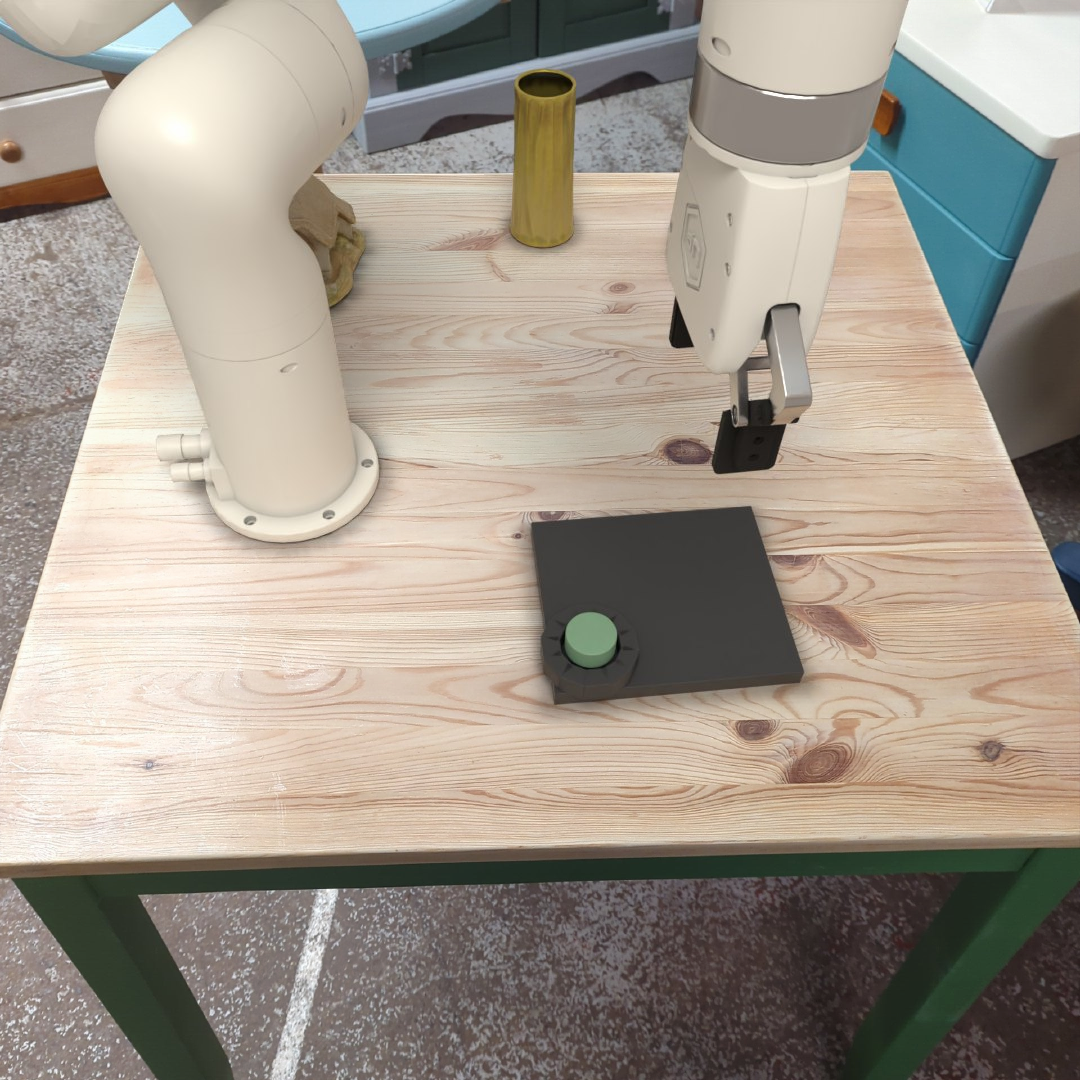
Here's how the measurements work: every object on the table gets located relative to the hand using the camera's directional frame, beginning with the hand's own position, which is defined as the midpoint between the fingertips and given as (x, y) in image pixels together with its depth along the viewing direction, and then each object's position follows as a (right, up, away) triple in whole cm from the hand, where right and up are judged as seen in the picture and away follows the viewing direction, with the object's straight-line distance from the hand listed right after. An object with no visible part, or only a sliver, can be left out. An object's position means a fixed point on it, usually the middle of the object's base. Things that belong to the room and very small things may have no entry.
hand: (717, 402), depth 54 cm
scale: (-2, -12, +14) cm, 19 cm away
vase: (-9, +22, +41) cm, 48 cm away
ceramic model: (-31, +17, +37) cm, 51 cm away
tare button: (-6, -14, +9) cm, 18 cm away
